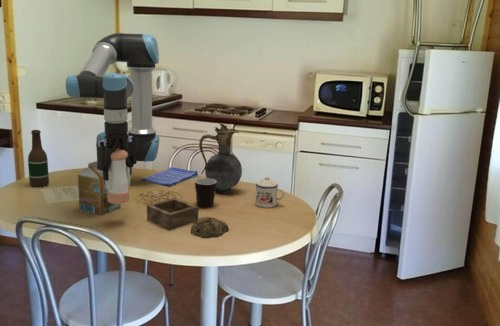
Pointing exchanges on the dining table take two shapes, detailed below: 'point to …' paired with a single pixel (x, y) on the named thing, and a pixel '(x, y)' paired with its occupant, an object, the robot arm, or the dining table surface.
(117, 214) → the dining table surface
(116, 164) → the pepper shaker
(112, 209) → the milk carton
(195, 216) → the square wooden tray
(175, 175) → the dish towel
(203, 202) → the coffee mug
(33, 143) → the beer bottle
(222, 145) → the pitcher
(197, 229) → the bread roll
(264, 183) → the teacup with lid
